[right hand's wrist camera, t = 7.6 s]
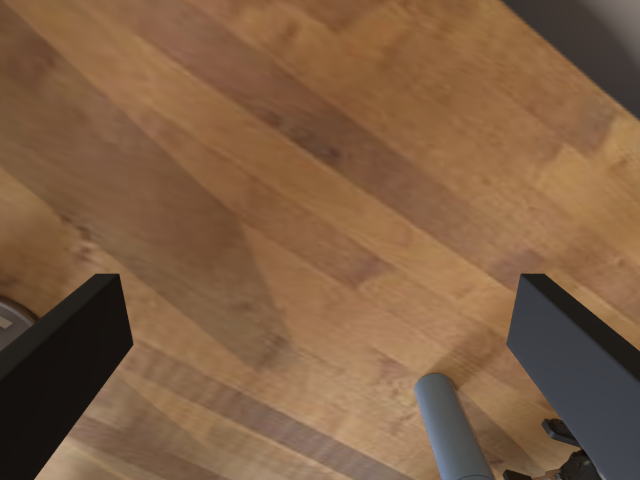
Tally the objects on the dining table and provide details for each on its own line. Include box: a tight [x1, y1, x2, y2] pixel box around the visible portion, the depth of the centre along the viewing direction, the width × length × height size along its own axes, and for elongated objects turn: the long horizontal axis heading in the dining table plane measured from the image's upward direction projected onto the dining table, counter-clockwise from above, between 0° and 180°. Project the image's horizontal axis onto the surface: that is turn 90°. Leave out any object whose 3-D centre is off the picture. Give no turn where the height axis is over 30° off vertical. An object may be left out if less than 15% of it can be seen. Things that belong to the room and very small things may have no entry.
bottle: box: [414, 373, 496, 480], centre depth 40 cm, size 5×5×20 cm
